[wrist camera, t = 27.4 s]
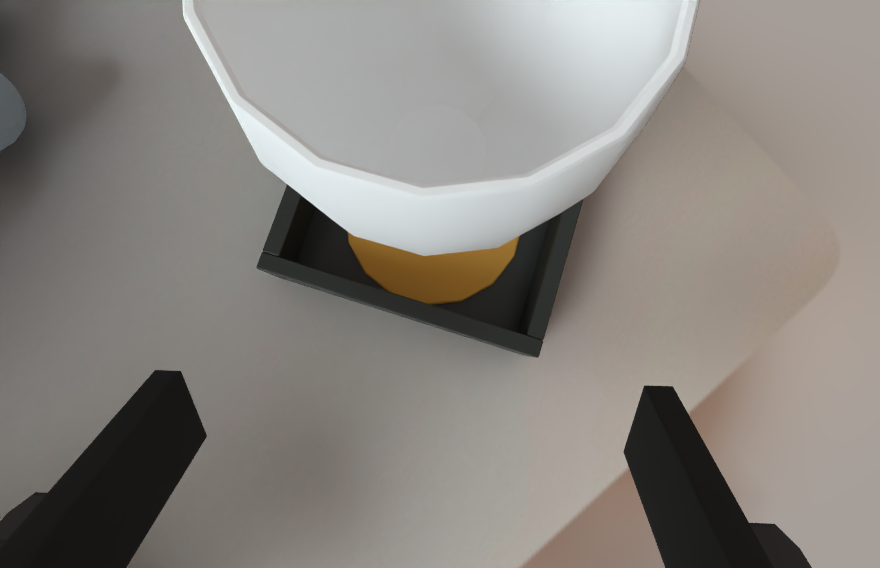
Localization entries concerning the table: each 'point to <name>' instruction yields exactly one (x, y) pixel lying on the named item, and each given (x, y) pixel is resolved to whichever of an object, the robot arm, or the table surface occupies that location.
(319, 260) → the dark square tray
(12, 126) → the figurine
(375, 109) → the cup
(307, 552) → the table surface
